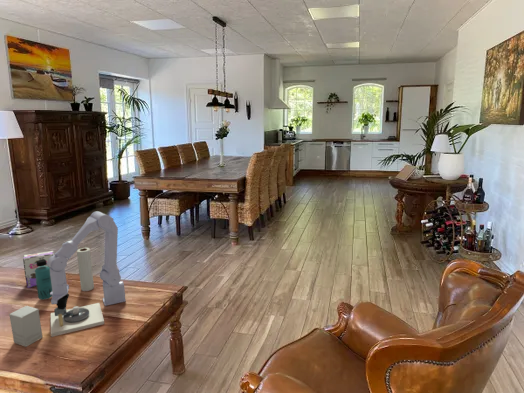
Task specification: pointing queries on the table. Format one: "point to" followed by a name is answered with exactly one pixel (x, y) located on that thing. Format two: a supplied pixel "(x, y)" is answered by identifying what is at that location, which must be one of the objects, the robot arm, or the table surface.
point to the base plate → (65, 327)
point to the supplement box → (26, 326)
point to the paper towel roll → (85, 269)
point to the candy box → (34, 266)
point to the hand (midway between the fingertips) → (62, 311)
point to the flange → (70, 316)
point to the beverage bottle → (43, 280)
